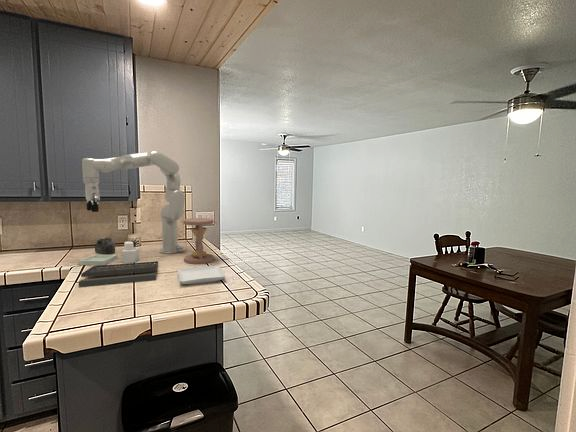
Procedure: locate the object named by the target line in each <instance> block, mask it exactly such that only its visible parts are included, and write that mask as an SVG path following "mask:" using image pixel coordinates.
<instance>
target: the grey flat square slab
mask: <svg viewBox="0 0 576 432" xmlns="http://www.w3.org/2000/svg"><path fill="white" fill-rule="evenodd" d="M177 273H178V281H179V283H180V284H182V285H196V284H198V285H199V284H206V283H213V282H214V283H215V282H218V281H222V280H224V279H225V278H226V275H225V273H224V272H223V271H222V269H221V268H220V266H219V265H206V266H194V267H192V266H191V267H185V268H178V269H177Z"/></svg>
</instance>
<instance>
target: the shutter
mask: <svg viewBox="0 0 576 432" xmlns="http://www.w3.org/2000/svg"><path fill="white" fill-rule="evenodd" d="M154 263H155V264H154ZM158 266H159V260H157V261H145V262H143V261H142V262H135V263H117V264H115V263H114V264H106V265H92V267H90V268H88V269H87V270H84V271H83V272H81V273H80V277H81V278H83V279H80V280H78V288H87V287H88V288H89V287H97V286H99V287H100V286H110V285H120V284H130V283H139V282H140V283H141V282H151V281H157V273H156V272H157V270H158ZM149 272H155V273H149ZM136 273H137V274H136ZM139 273H143V274H139ZM125 274H128V275H125ZM129 274H130V275H129ZM131 274H132V275H131ZM112 275H113V276H112ZM114 275H120V276H114ZM100 276H109V277H100ZM88 277H89V278H88ZM90 277H97V278H90Z"/></svg>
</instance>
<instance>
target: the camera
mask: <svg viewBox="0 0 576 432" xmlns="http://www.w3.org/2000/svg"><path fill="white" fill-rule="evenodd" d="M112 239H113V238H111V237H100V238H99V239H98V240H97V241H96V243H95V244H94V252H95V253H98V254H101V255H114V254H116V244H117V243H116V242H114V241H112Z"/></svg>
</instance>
